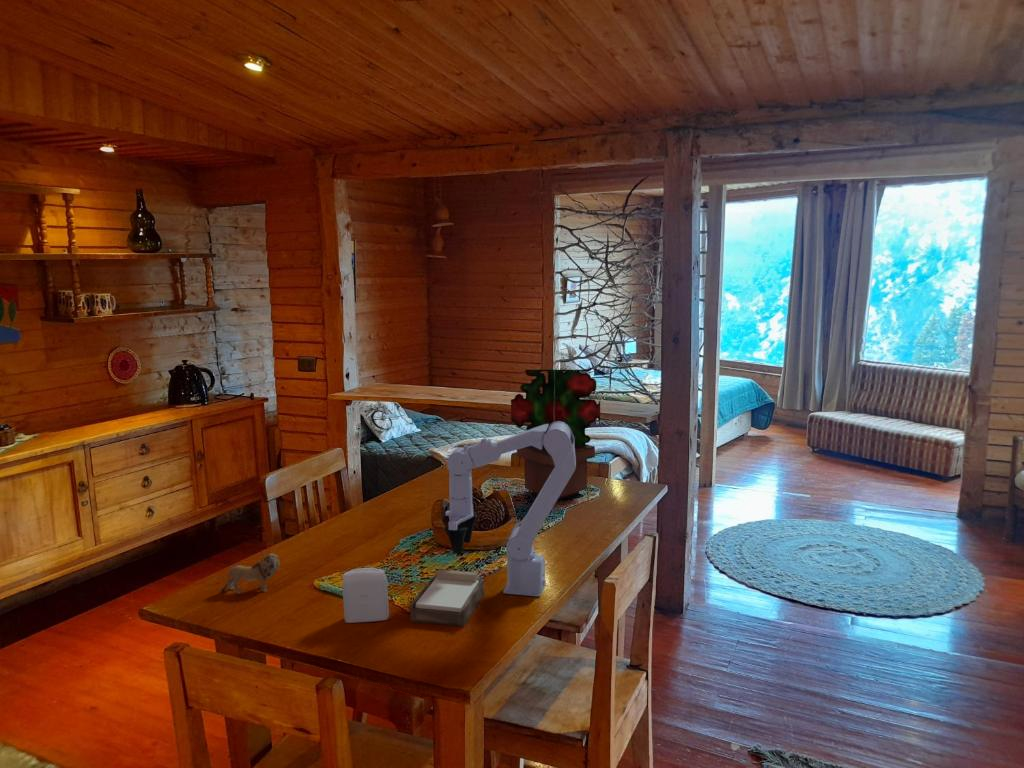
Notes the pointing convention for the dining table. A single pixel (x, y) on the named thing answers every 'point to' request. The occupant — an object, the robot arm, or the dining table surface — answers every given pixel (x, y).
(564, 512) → the dining table surface
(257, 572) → the lion figurine
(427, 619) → the walnut box
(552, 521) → the dining table surface
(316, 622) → the dining table surface
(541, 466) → the potted plant
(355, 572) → the photo printer
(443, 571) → the cover plate
